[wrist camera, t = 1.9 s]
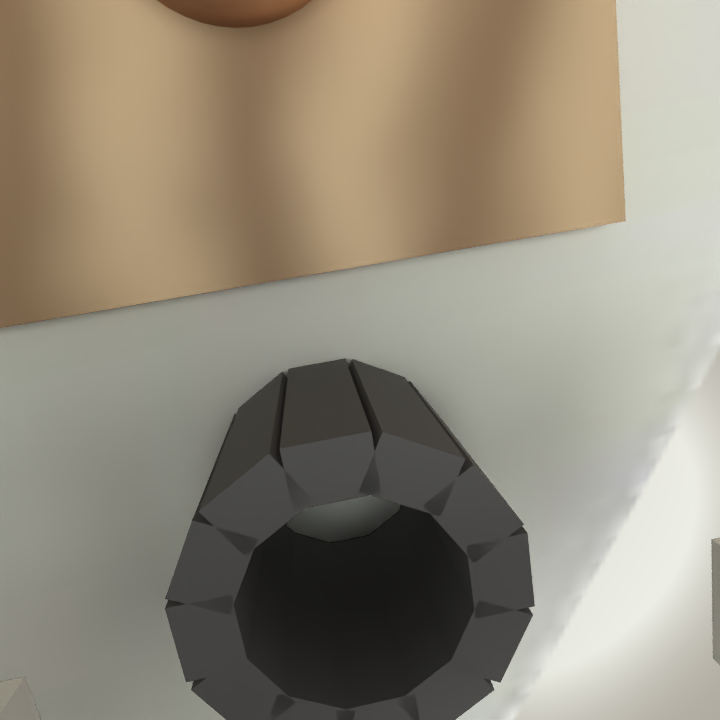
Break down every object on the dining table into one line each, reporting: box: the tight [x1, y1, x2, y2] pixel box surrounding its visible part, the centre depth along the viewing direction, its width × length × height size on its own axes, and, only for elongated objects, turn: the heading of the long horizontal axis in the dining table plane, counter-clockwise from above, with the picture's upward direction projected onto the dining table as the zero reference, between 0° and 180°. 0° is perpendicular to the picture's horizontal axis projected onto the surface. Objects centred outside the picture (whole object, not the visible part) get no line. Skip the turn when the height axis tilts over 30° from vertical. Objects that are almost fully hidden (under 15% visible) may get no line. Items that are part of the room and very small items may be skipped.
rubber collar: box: [165, 359, 535, 720], centre depth 15 cm, size 8×8×7 cm
